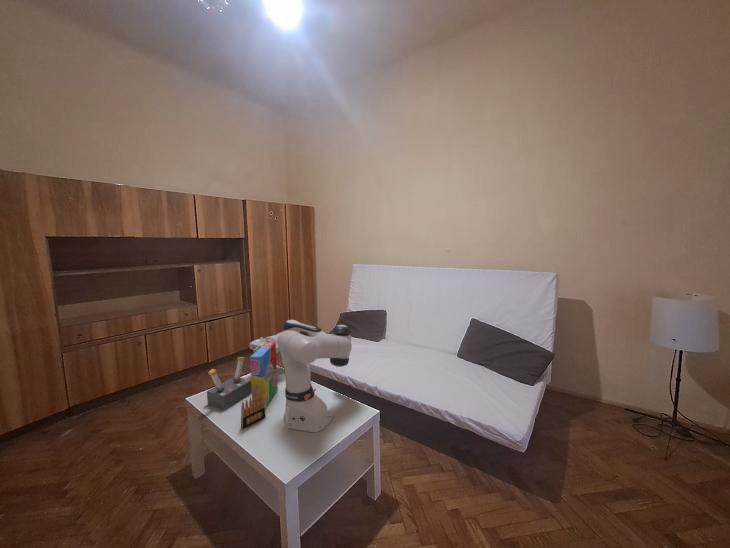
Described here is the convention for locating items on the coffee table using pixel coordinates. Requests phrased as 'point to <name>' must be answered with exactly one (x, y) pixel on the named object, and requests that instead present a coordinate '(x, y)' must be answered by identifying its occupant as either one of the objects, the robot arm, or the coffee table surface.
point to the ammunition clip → (252, 412)
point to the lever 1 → (216, 380)
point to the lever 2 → (238, 369)
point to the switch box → (229, 393)
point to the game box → (264, 372)
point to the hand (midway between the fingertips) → (255, 351)
